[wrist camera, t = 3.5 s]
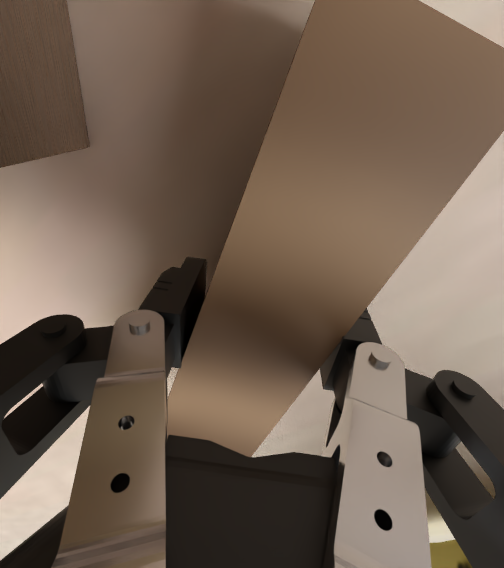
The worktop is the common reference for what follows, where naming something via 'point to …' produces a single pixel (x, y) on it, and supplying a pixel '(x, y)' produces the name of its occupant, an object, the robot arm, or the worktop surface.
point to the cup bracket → (38, 82)
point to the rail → (334, 203)
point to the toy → (448, 555)
